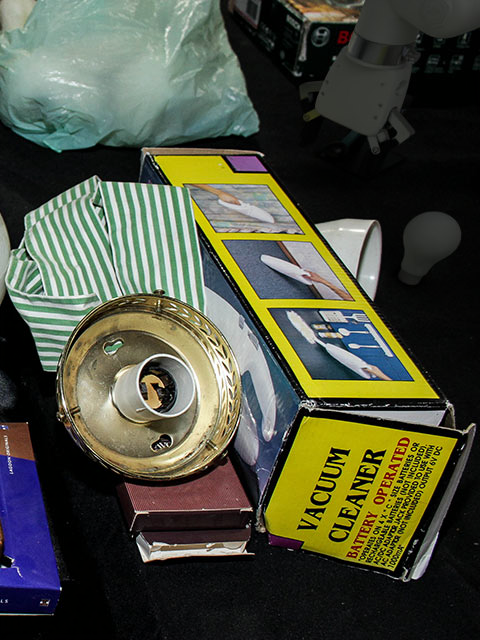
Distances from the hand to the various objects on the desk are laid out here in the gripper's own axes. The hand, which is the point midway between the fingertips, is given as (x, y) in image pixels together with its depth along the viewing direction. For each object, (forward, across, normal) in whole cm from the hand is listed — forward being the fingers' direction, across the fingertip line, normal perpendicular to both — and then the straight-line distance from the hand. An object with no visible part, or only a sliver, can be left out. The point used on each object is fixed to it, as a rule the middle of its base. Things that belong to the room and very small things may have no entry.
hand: (334, 158), depth 128 cm
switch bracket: (+4, +1, -9) cm, 10 cm away
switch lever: (-2, +1, -6) cm, 6 cm away
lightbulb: (+5, -20, +12) cm, 24 cm away
